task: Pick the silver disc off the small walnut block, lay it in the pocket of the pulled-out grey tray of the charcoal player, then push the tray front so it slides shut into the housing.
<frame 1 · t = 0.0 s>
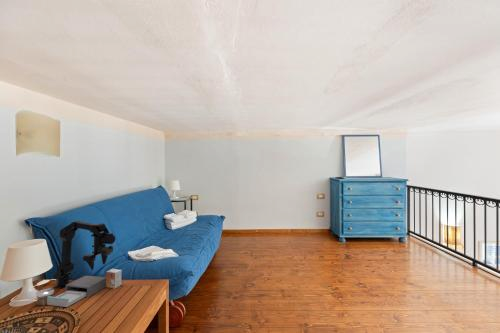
hand: (98, 266, 157), 15 cm above the table, fingers open, 9 cm apart
tray: (68, 296, 143), point 3 cm above the table, slide at 12.0 cm
housing: (84, 291, 154), on the table
small box: (113, 286, 161), on the table
pedestal: (45, 302, 140), on the table
disc: (45, 294, 140), point 5 cm above the table, touching pedestal
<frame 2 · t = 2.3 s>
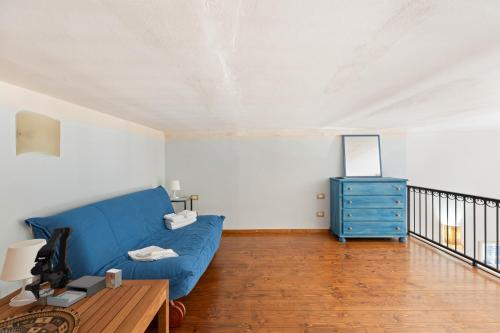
hand: (45, 295, 140), 4 cm above the table, fingers closed on disc, 8 cm apart
disc: (45, 294, 140), point 5 cm above the table, touching gripper, pedestal
everything else where it was.
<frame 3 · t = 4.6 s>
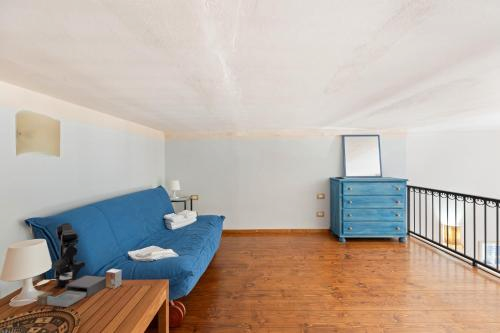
hand: (68, 279, 143), 13 cm above the table, fingers closed on disc, 8 cm apart
disc: (68, 277, 143), point 14 cm above the table, touching gripper
everything else where it was.
when the fingers open (2 cm above the table, at t = 6.8 s): disc drops 2 cm, resting on tray.
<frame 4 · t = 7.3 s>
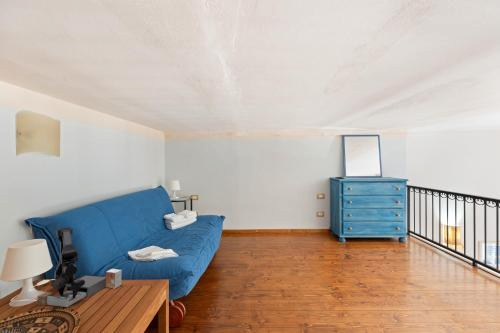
hand: (67, 297, 143), 2 cm above the table, fingers open, 9 cm apart
tray: (68, 296, 143), point 3 cm above the table, slide at 12.0 cm, touching disc
disc: (67, 298, 143), point 1 cm above the table, touching tray
everything else where it was.
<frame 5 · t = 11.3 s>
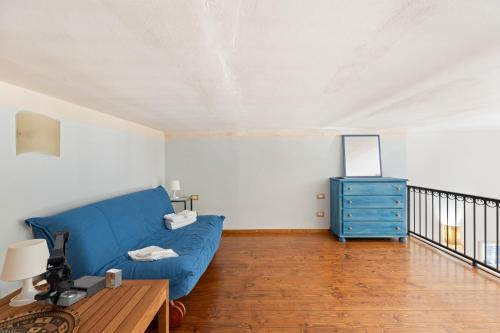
hand: (55, 305, 135), 1 cm above the table, fingers closed
tray: (69, 295, 144), point 3 cm above the table, slide at 11.0 cm, touching disc, gripper
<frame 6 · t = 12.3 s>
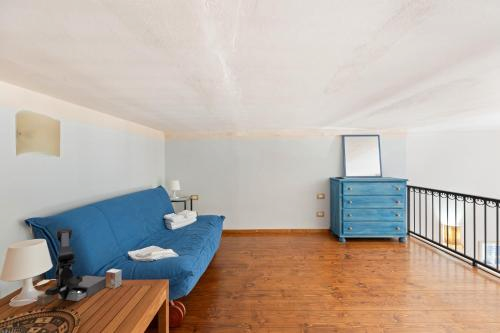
hand: (64, 299, 141), 1 cm above the table, fingers closed
tray: (78, 290, 149), point 3 cm above the table, slide at 5.3 cm, touching disc, gripper
disc: (77, 292, 149), point 1 cm above the table, touching tray
everything else where it was.
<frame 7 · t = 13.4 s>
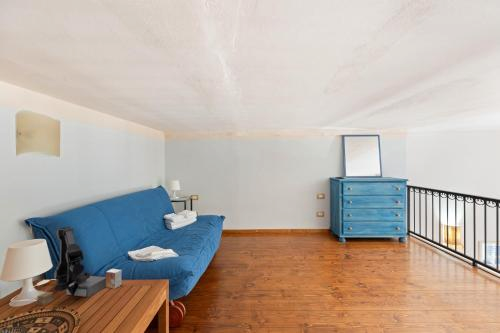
hand: (72, 295, 146), 1 cm above the table, fingers closed
tray: (85, 286, 155), point 3 cm above the table, slide at 0.1 cm, touching disc, gripper
disc: (85, 288, 154), point 1 cm above the table, touching tray
everything else where it was.
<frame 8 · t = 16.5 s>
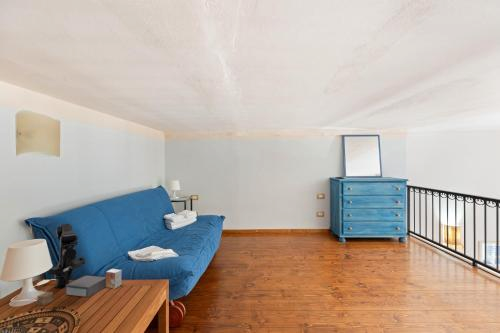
hand: (67, 280, 142), 12 cm above the table, fingers closed
tray: (85, 286, 155), point 3 cm above the table, slide at 0.1 cm, touching disc
everything else where it was.
at the end: tray slide at 0.1 cm; disc inside the target area on the housing (1.0 cm from its centre), point 1.4 cm above the housing's base; the gripper is holding nothing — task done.
